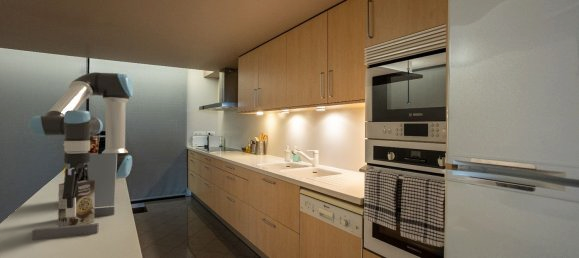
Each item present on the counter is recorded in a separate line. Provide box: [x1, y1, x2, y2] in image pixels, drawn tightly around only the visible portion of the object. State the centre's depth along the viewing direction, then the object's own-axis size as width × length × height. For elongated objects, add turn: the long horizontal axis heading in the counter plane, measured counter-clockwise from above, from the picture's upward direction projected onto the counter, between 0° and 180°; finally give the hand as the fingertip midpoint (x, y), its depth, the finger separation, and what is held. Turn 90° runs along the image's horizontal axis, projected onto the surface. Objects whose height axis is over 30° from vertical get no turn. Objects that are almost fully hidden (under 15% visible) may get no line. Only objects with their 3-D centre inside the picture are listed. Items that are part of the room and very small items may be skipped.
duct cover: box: [63, 153, 117, 208], centre depth 115 cm, size 22×18×1 cm
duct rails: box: [31, 206, 116, 241], centre depth 103 cm, size 23×18×3 cm
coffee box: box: [57, 180, 96, 227], centre depth 101 cm, size 9×6×16 cm
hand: (77, 211), depth 101 cm, fingers closed on coffee box, 10 cm apart
